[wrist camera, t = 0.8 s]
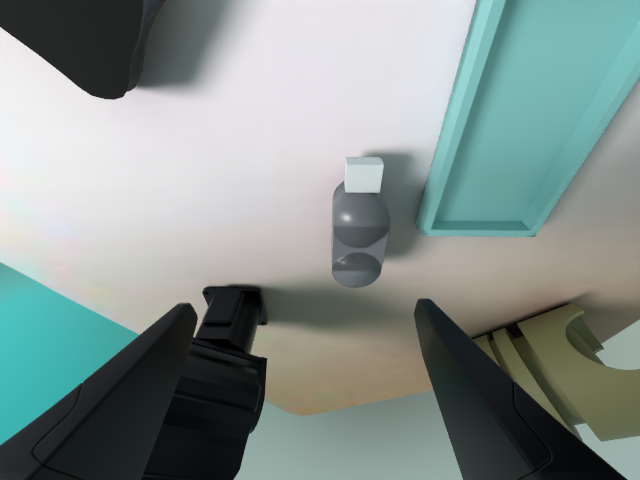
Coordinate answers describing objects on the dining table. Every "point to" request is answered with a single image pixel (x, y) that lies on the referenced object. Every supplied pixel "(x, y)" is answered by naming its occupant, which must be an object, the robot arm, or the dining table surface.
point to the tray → (527, 111)
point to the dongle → (359, 223)
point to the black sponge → (86, 38)
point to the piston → (568, 373)
